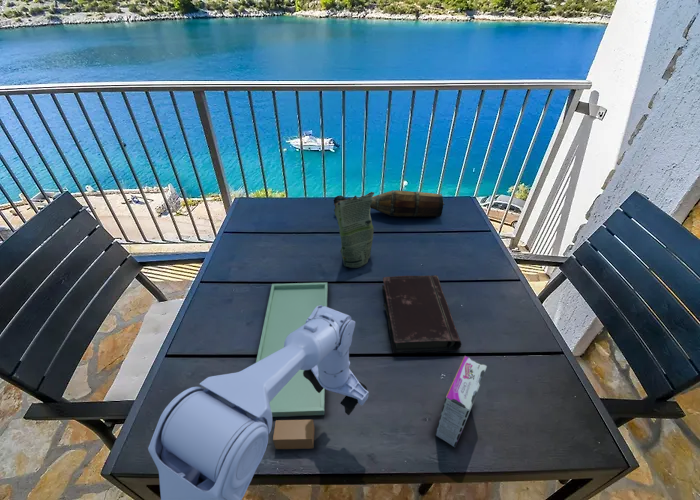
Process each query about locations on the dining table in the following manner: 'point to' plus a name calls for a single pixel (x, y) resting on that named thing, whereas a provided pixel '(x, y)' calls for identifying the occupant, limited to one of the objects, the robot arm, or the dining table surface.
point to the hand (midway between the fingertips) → (335, 399)
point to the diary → (418, 315)
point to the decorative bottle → (405, 203)
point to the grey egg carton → (460, 400)
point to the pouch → (355, 229)
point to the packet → (294, 434)
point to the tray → (282, 319)
